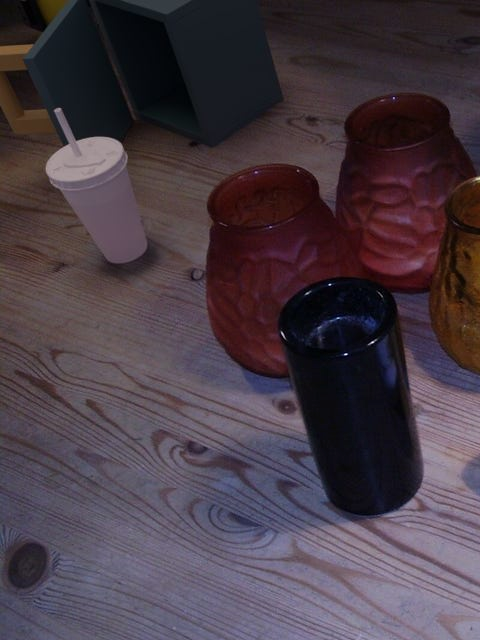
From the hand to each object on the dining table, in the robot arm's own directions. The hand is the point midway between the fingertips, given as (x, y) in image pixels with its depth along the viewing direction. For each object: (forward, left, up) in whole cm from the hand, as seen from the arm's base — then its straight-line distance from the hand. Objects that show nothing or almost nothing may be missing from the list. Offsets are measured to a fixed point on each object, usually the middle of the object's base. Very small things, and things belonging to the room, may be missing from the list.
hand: (60, 15), depth 116 cm
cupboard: (+28, -3, -3) cm, 28 cm away
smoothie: (+39, -23, -3) cm, 45 cm away
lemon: (0, 0, -3) cm, 3 cm away
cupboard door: (+23, -15, -3) cm, 28 cm away
